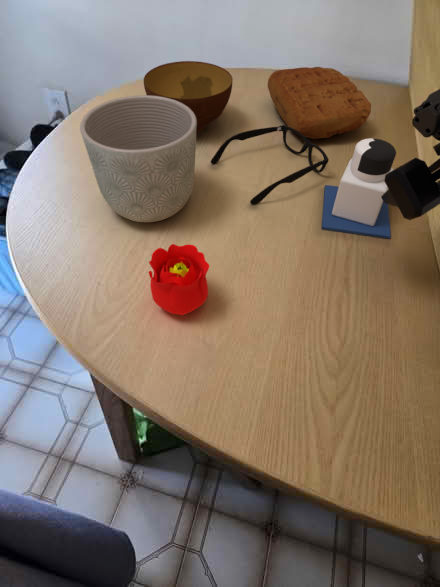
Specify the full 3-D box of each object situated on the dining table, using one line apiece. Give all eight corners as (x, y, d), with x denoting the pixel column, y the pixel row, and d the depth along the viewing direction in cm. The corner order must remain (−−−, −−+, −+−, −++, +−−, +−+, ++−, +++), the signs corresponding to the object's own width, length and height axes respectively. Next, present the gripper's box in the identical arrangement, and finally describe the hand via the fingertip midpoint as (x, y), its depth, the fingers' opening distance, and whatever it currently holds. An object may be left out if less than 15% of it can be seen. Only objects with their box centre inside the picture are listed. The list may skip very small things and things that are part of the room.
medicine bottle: (381, 203, 74) (405, 139, 65) (373, 227, 70) (397, 162, 61) (341, 192, 76) (358, 129, 67) (330, 215, 72) (348, 151, 63)
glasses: (332, 184, 80) (339, 160, 76) (253, 208, 74) (256, 183, 70) (282, 143, 89) (286, 120, 86) (207, 161, 83) (208, 137, 79)
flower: (143, 314, 58) (135, 273, 52) (167, 275, 63) (162, 234, 57) (196, 330, 56) (195, 290, 50) (217, 289, 61) (217, 249, 55)
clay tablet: (261, 101, 100) (265, 65, 94) (329, 95, 103) (336, 59, 97) (295, 150, 86) (301, 112, 80) (371, 141, 89) (383, 103, 83)
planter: (158, 251, 66) (147, 165, 55) (79, 213, 72) (54, 128, 61) (217, 196, 76) (218, 113, 64) (143, 166, 82) (132, 85, 70)
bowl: (180, 157, 84) (177, 107, 76) (133, 122, 93) (126, 74, 85) (247, 130, 91) (250, 82, 84) (198, 100, 100) (197, 54, 92)
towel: (386, 195, 77) (387, 192, 76) (389, 239, 69) (390, 236, 69) (324, 187, 78) (325, 184, 78) (321, 229, 70) (322, 226, 70)
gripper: (529, 39, 47) (425, 108, 62) (411, 105, 42) (329, 162, 57) (573, 129, 48) (460, 175, 63) (462, 203, 43) (369, 234, 58)
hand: (406, 185), depth 60 cm, fingers open, 9 cm apart
